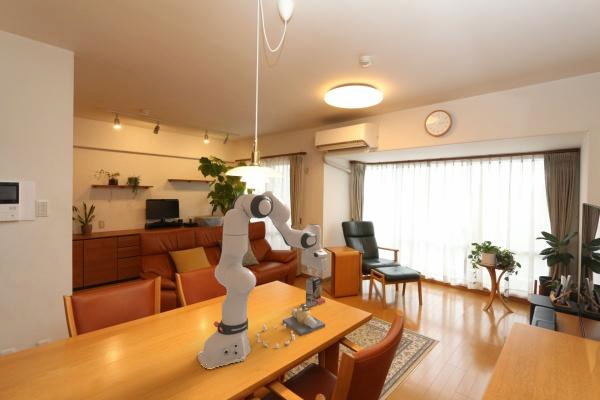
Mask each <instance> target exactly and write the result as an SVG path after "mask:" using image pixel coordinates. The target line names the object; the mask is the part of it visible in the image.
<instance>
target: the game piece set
mask: <svg viewBox="0 0 600 400" xmlns="http://www.w3.org/2000/svg"><path fill="white" fill-rule="evenodd" d="M277 327H278V325H276V326H273V329H277ZM262 329H263V331H264V332H267V331H266V330H267V329H268V328H267V326H266V324H263V325H262ZM273 329H272V330H273ZM283 329H284V330H286V329H287V325H286V324H284V323H283ZM260 333H261V331H259V332H258V333H256V334H255V336H256V337H257V340H255V341H256V343H257V344H258V343H259V344H260V343H261V342H262V345H263V346H264V347H268V346H269V344H268V343H269V340H267V341H266V342H265V341H262V340H260V339H261V338H260V336H261V335H260ZM290 334H291V340H293V341H294V340H295V339H296V337H295V336H296V335H295V334H294V330H291V331H290ZM290 343H291V342H290V339H289V340H286V341H284V345H287V346H289V344H290ZM274 347H275V349H280V346H279V343H276V344H275V346H274Z"/></svg>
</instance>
